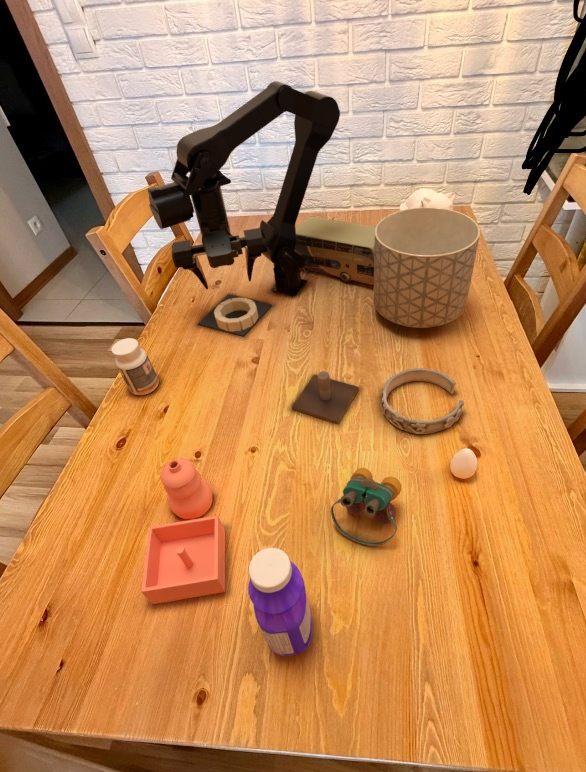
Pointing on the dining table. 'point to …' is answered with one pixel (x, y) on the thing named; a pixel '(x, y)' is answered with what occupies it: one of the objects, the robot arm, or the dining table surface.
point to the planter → (424, 265)
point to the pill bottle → (135, 366)
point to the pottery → (185, 541)
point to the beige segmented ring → (236, 323)
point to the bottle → (280, 602)
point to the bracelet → (415, 425)
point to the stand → (325, 398)
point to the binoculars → (369, 500)
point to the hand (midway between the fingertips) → (228, 284)
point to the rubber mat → (234, 316)
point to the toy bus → (337, 248)
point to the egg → (463, 463)
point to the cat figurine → (429, 200)
